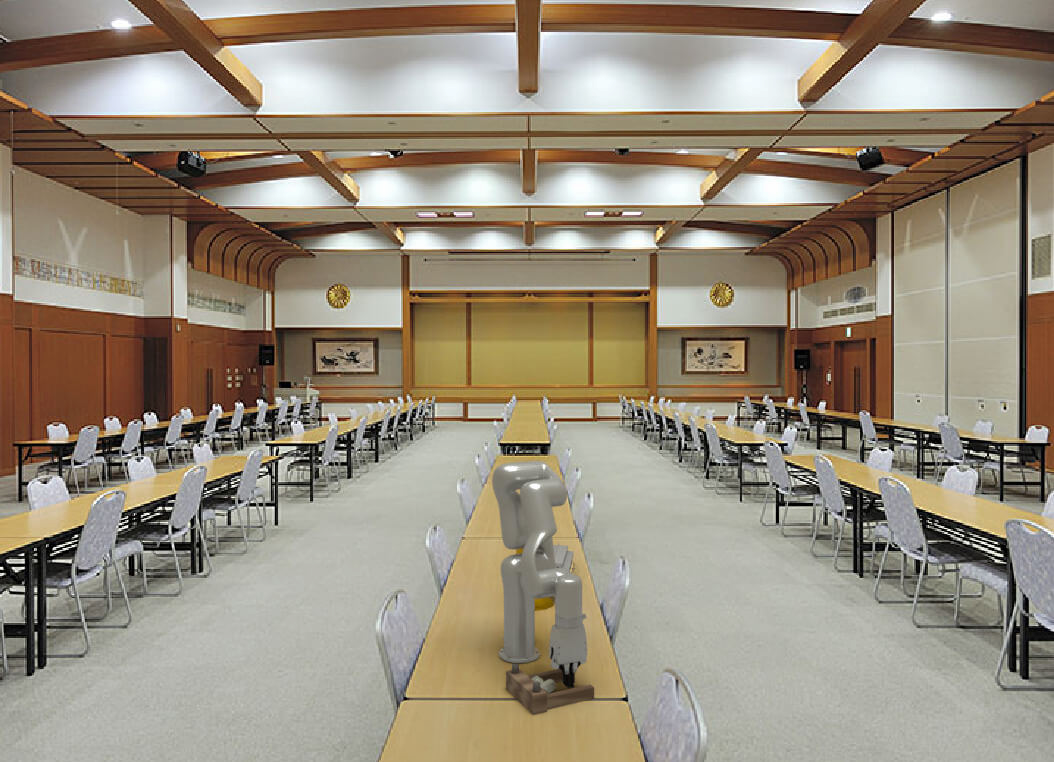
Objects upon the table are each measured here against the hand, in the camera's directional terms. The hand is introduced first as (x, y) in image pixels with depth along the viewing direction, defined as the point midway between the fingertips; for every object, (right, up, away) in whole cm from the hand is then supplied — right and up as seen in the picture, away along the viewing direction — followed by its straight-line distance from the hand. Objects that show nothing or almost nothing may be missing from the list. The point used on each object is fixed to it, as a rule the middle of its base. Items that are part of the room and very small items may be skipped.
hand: (568, 686), depth 204 cm
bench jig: (-6, -1, -3) cm, 7 cm away
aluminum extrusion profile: (0, +1, +114) cm, 114 cm away
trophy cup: (-10, 0, +75) cm, 76 cm away
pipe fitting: (-7, -2, -2) cm, 7 cm away
